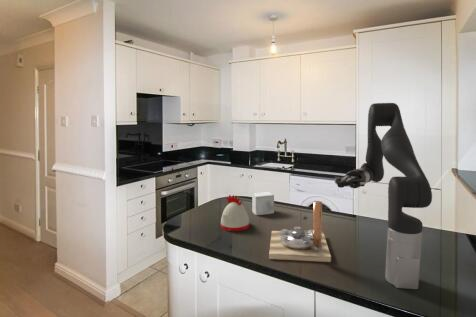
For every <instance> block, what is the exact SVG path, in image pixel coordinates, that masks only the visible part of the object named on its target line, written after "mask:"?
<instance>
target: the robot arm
mask: <svg viewBox="0 0 476 317" xmlns="http://www.w3.org/2000/svg"><path fill="white" fill-rule="evenodd" d="M367 114H368V115H367V146H366V153H365V163H363V164H362V165H361V166H360V168H355V169H353V170H350V171H348V172H346V173H345V175H344V176H341V177H340V176H337V175H335V176H334V183H335V184H336V186H337V187H338V188H340V189H341V188H344V187H347V188H348V187H349V188H350V189H358V188H360V187H365V185H366V184H367V183H370V182H371V181H372V182H374V183H380V182H381V181H382V180H383V179H384V176H385V169H384V163H383V162H384V161H383V160H385V161H387V163H388V164H389V165H390V166H392V167H393V168H395V169H396V170H397V171H399V172H400V173H401V174H403V175H404V176H392V177H391V178H390V180H389V182H388V186H387V190H388V191H387V198H388V199H387V200H388V201H387V202H388V203H387V204H388V205H387V206H388V207H387V238H386V257H385V271H384V272H385V273H384V275H385V277H384V278H385V280H386V281H387V283H389V284H390V285H393V286H394V287H395V288H396V289H408V290H419V283H420V282H419V281H420V267H421V254H422V251H421V250H422V240H423V238H422V236H423V222H422V221H421V219H419V218H418V217H415V216H413V215H409V214H407V213H405V212H404V211H403V208H408V209H409V208H413V209H423V208H428V207H429V206H431V204H432V202H433V201H432V200H433V191H432V187H431V184H430V182H429V180H428V178H427V176H426V174H425V172H424V171H423V170H422V167H421V165H420V163H419V162H418V159H417V157H416V155H415V154H416V153H415V151H414V148H413V146H412V143H411V140H410V138H409V135H408V134H407V130H406V129H405V126H404V123H403V122H404V121H403V119H402V113H401V109H400V107H399V105H397V103H396V102H380V103H379V102H376V103H372V104H370V106H369V109H368V113H367ZM377 127H390V128H389V129H388V130H387V131H386V133H385V134H384V135H383V137H382V138H381V137H380V136H379V135H378V133H377Z"/></svg>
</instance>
